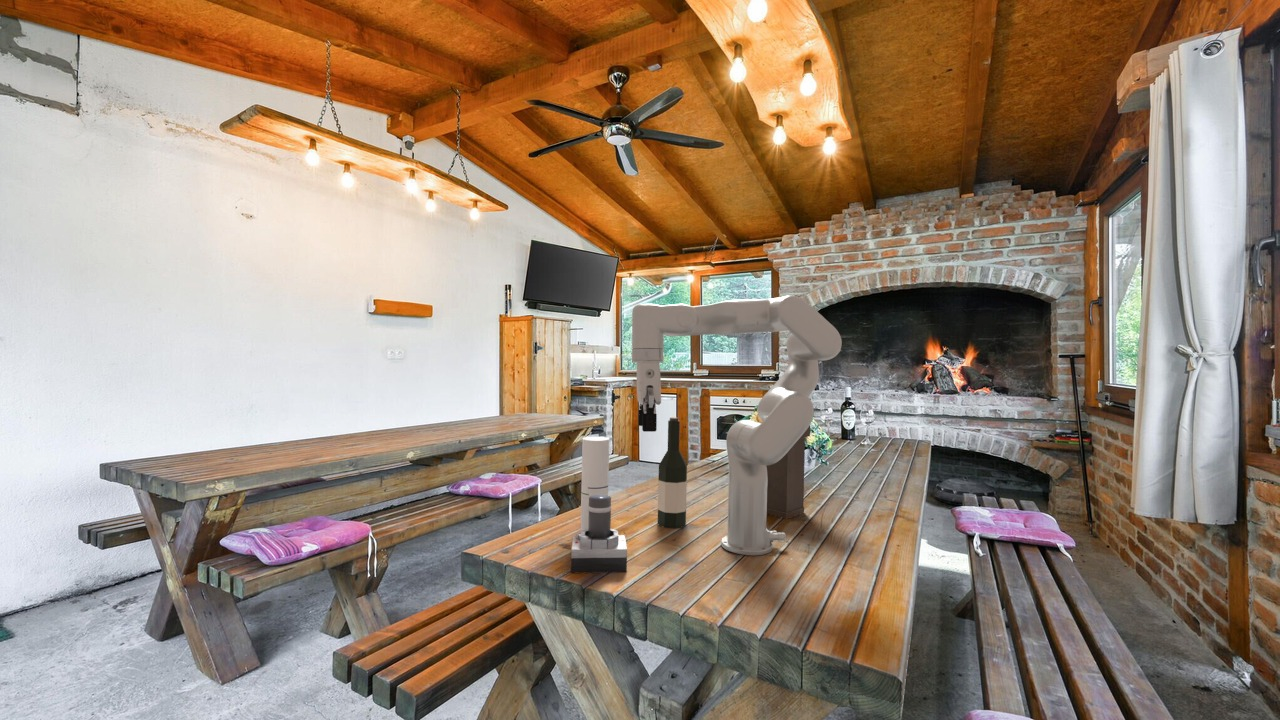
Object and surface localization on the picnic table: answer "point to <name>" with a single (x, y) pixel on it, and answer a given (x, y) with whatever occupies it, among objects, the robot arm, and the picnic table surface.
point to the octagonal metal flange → (599, 553)
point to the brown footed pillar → (787, 482)
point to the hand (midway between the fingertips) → (647, 428)
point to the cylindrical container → (593, 472)
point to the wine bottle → (672, 481)
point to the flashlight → (599, 516)
